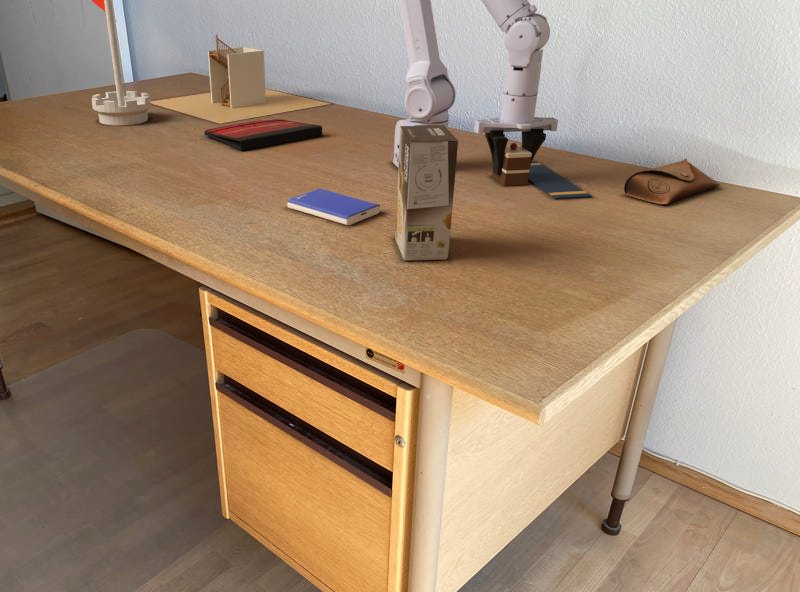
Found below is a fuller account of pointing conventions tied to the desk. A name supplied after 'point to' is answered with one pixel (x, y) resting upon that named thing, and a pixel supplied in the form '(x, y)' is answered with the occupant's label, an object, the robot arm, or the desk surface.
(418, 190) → the coffee box
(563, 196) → the cloth
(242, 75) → the staircase
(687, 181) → the sunglasses case
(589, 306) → the desk surface
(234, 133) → the binder
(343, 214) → the hard drive
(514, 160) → the cake slice
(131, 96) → the flag stand
